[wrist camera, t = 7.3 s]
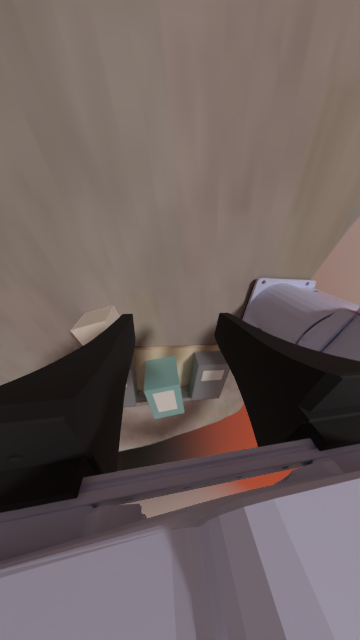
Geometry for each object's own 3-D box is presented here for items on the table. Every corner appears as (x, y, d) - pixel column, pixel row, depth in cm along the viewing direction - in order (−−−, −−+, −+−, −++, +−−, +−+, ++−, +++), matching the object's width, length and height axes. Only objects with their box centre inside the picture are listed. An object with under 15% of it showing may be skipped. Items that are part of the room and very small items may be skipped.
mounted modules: (224, 350, 26) (232, 364, 24) (213, 384, 31) (219, 398, 29) (96, 356, 23) (89, 372, 20) (107, 393, 28) (102, 410, 25)
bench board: (226, 344, 26) (228, 346, 26) (213, 385, 33) (214, 388, 32) (93, 349, 23) (91, 351, 22) (106, 394, 29) (105, 397, 28)
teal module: (175, 355, 25) (179, 384, 20) (179, 383, 29) (184, 413, 25) (145, 360, 25) (143, 391, 20) (154, 388, 29) (154, 419, 24)
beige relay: (113, 304, 20) (105, 320, 16) (131, 338, 23) (128, 357, 20) (84, 312, 20) (70, 330, 16) (107, 345, 23) (99, 365, 20)
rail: (213, 384, 31) (217, 395, 29) (212, 387, 32) (216, 397, 30) (107, 393, 28) (103, 406, 26) (108, 396, 28) (104, 409, 26)
